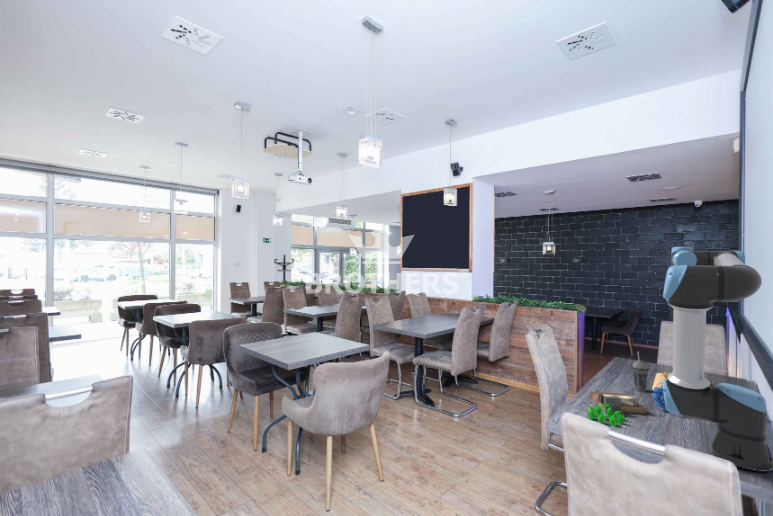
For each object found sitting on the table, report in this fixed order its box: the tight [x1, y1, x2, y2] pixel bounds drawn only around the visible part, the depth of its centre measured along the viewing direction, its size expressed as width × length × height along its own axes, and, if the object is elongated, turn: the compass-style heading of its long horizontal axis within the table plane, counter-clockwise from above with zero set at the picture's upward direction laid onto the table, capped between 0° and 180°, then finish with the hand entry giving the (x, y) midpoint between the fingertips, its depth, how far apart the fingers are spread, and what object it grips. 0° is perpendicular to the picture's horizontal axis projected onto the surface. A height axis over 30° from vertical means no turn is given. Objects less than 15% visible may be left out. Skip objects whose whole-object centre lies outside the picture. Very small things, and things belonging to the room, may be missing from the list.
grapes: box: [651, 385, 669, 413], centre depth 163 cm, size 12×7×12 cm, turn 58°
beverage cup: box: [631, 351, 650, 393], centre depth 191 cm, size 7×7×20 cm
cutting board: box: [652, 371, 672, 391], centre depth 197 cm, size 35×23×8 cm
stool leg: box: [598, 394, 640, 406], centre depth 166 cm, size 16×4×3 cm, turn 79°
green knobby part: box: [586, 404, 627, 428], centre depth 156 cm, size 15×15×7 cm
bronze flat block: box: [589, 391, 647, 415], centre depth 171 cm, size 19×17×7 cm
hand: (681, 335), depth 163 cm, fingers closed
